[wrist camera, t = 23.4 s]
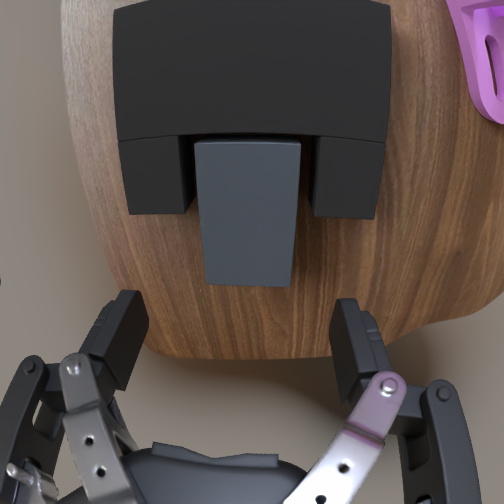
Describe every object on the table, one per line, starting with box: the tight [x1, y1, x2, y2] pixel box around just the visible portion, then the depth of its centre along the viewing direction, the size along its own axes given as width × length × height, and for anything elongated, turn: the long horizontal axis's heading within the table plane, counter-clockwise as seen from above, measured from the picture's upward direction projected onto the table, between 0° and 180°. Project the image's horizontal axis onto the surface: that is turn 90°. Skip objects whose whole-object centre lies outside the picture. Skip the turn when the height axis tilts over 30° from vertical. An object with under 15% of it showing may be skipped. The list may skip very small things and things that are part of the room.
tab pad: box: [194, 135, 301, 287], centre depth 19 cm, size 6×10×3 cm, turn 0°
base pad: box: [113, 0, 392, 220], centre depth 15 cm, size 16×14×3 cm
